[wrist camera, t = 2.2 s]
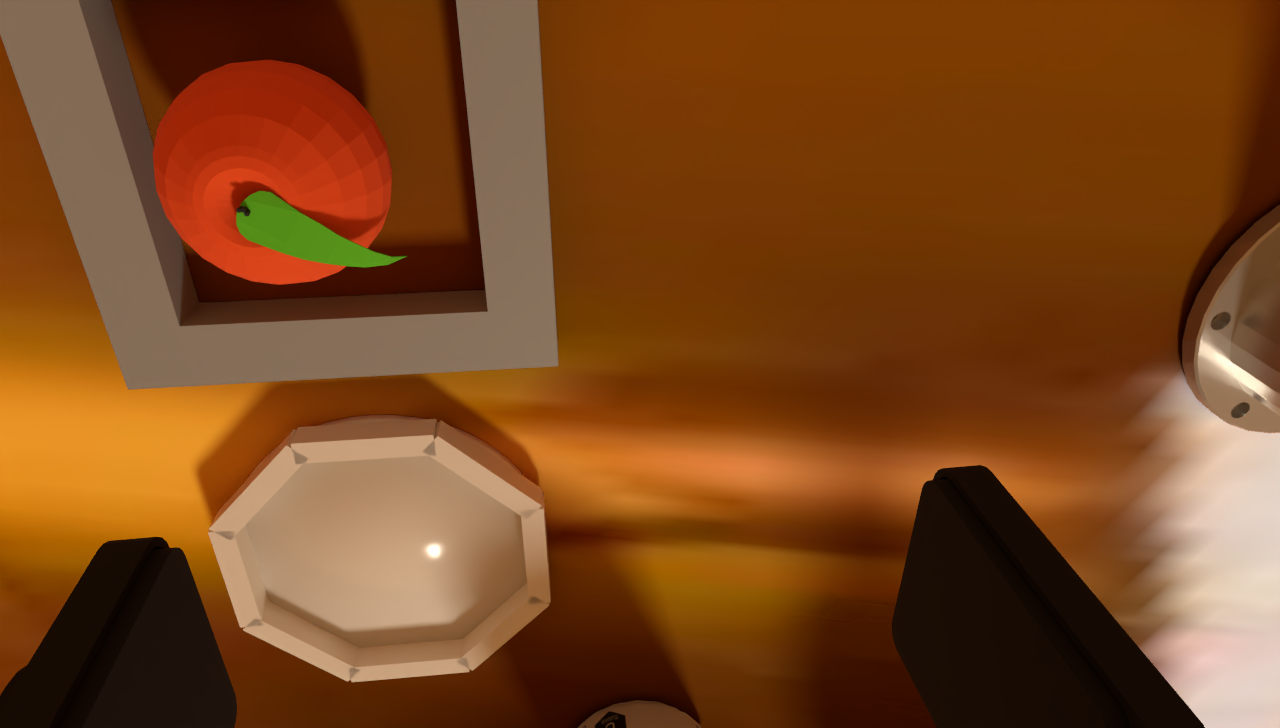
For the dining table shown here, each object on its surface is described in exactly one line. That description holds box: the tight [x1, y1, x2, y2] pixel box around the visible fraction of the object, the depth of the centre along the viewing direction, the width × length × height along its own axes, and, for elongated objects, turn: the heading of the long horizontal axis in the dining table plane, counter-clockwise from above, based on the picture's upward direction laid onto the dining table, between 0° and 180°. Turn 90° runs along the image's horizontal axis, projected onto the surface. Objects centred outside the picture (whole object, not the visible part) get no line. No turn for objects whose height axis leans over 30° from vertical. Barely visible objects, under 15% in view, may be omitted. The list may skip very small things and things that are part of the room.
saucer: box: [208, 415, 551, 682], centre depth 37 cm, size 14×14×2 cm
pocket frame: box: [0, 0, 558, 389], centre depth 28 cm, size 16×16×2 cm
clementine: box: [153, 59, 407, 285], centre depth 26 cm, size 8×7×7 cm
